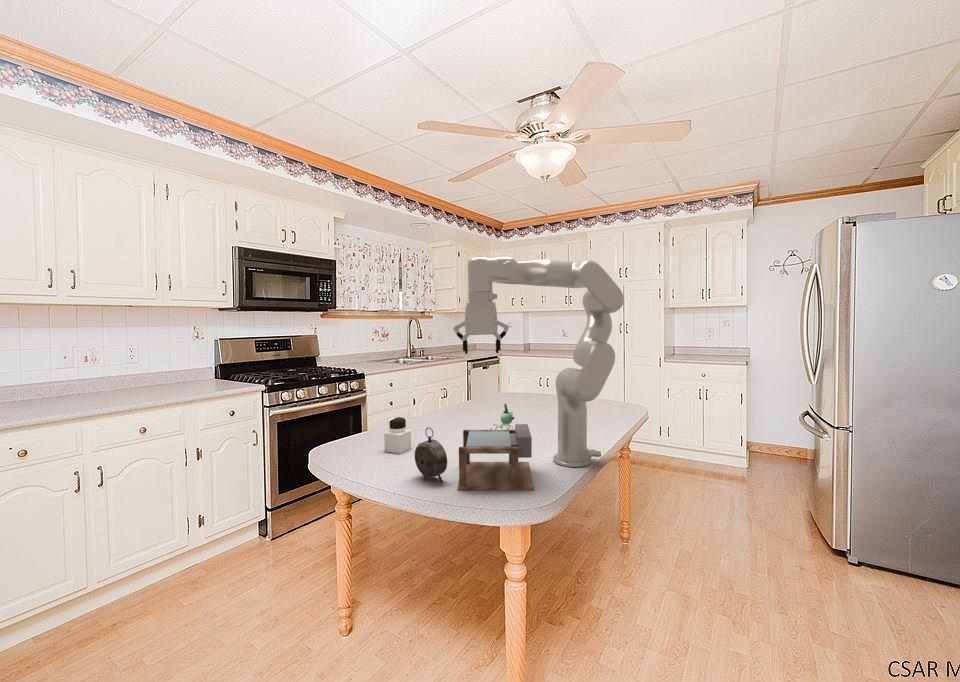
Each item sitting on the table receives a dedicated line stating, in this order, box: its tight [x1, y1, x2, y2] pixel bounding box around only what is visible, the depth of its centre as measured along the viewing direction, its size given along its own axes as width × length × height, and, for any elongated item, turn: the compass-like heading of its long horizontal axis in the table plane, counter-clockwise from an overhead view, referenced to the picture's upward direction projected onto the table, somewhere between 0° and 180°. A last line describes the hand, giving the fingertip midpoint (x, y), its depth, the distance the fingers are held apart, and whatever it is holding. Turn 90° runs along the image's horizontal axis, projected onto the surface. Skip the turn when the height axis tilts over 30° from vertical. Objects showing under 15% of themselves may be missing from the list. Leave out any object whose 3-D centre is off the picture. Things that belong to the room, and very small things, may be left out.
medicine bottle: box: [383, 416, 412, 455], centre depth 165 cm, size 7×7×12 cm
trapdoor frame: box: [456, 429, 535, 491], centre depth 138 cm, size 22×21×12 cm
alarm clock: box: [414, 426, 448, 483], centre depth 136 cm, size 11×5×16 cm, turn 47°
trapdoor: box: [466, 423, 533, 459], centre depth 137 cm, size 19×16×6 cm
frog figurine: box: [490, 403, 515, 430], centre depth 181 cm, size 10×18×15 cm, turn 101°
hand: (481, 353), depth 139 cm, fingers open, 9 cm apart
